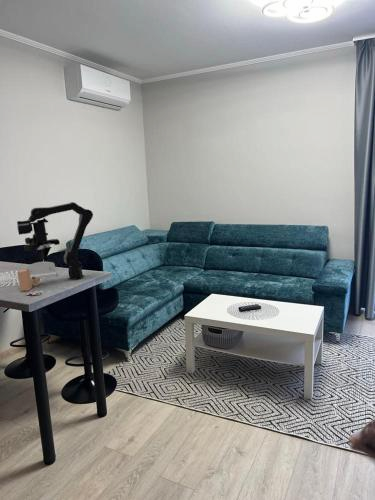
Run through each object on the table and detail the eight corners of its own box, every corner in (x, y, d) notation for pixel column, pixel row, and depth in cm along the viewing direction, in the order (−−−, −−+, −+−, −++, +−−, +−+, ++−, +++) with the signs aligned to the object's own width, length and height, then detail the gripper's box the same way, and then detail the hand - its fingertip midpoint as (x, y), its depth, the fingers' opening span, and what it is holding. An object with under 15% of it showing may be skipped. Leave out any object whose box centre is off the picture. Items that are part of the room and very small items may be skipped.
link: (31, 283, 198) (28, 265, 196) (40, 282, 198) (37, 264, 196) (19, 291, 184) (16, 271, 182) (29, 290, 184) (26, 271, 182)
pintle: (42, 282, 198) (41, 275, 197) (35, 286, 192) (34, 278, 191) (32, 282, 199) (31, 275, 198) (25, 286, 193) (24, 278, 193)
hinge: (26, 280, 205) (23, 263, 206) (27, 281, 209) (24, 264, 210) (57, 276, 210) (55, 259, 211) (57, 277, 214) (55, 260, 216)
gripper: (43, 228, 203) (48, 256, 206) (14, 235, 187) (19, 264, 190) (58, 228, 197) (62, 257, 201) (28, 235, 181) (34, 265, 185)
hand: (44, 260), depth 194 cm, fingers closed
